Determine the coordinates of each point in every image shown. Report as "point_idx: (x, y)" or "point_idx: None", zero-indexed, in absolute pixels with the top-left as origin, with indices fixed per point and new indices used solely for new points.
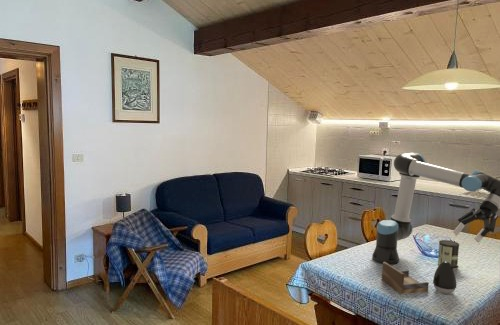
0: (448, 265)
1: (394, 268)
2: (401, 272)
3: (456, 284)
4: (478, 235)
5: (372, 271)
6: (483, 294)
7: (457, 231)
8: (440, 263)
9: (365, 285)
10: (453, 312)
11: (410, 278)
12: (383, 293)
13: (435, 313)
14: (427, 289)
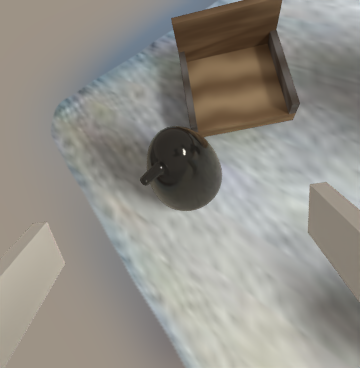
0: (152, 143)
1: (217, 10)
2: (182, 19)
3: (163, 202)
4: (6, 255)
5: (343, 38)
6: (163, 307)
7: (325, 229)
8: (188, 130)
9: None
10: (79, 145)
11: (261, 109)
12: None
13: (83, 104)
14: None
